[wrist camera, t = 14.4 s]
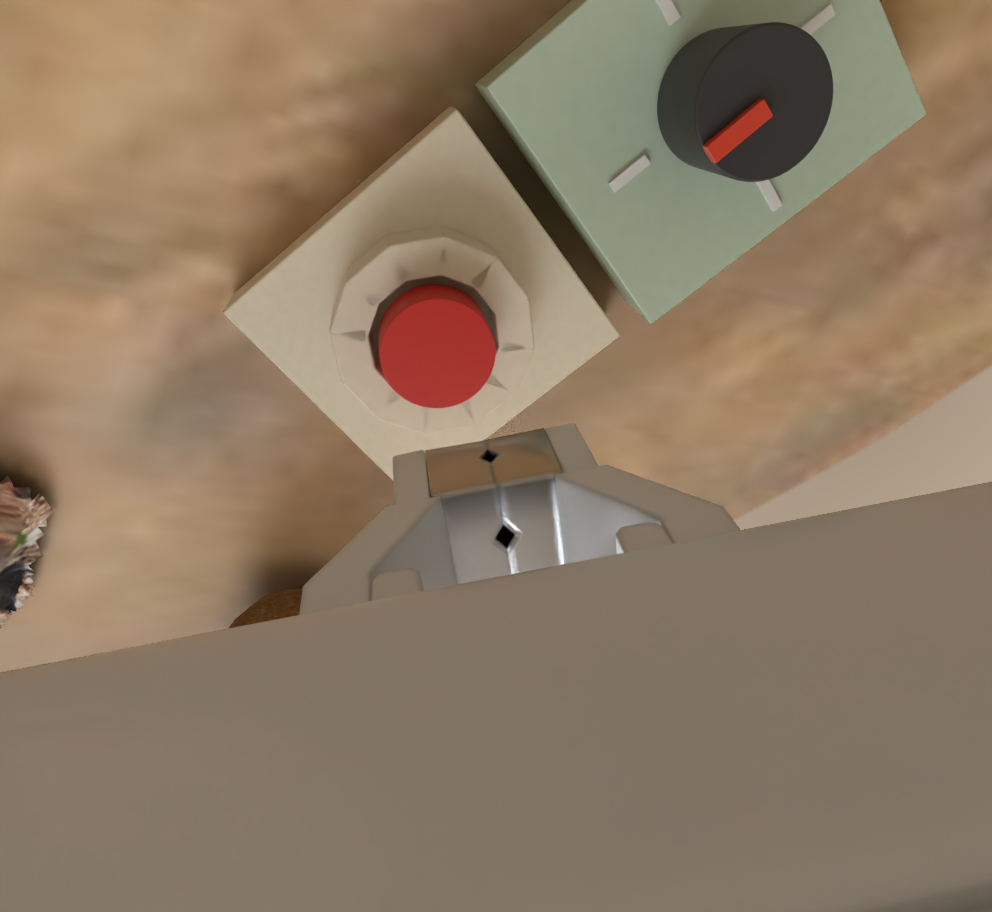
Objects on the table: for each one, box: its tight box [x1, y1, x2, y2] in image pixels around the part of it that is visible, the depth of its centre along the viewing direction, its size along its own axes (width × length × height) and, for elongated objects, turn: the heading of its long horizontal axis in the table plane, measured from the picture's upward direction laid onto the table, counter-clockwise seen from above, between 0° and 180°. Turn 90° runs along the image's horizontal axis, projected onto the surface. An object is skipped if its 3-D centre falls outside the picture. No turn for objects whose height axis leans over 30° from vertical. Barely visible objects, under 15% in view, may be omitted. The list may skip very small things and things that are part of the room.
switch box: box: [223, 106, 620, 480], centre depth 27 cm, size 10×10×4 cm
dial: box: [657, 22, 833, 182], centre depth 22 cm, size 4×4×4 cm
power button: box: [379, 284, 496, 408], centre depth 25 cm, size 4×4×2 cm
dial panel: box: [475, 0, 926, 324], centre depth 25 cm, size 11×10×3 cm
